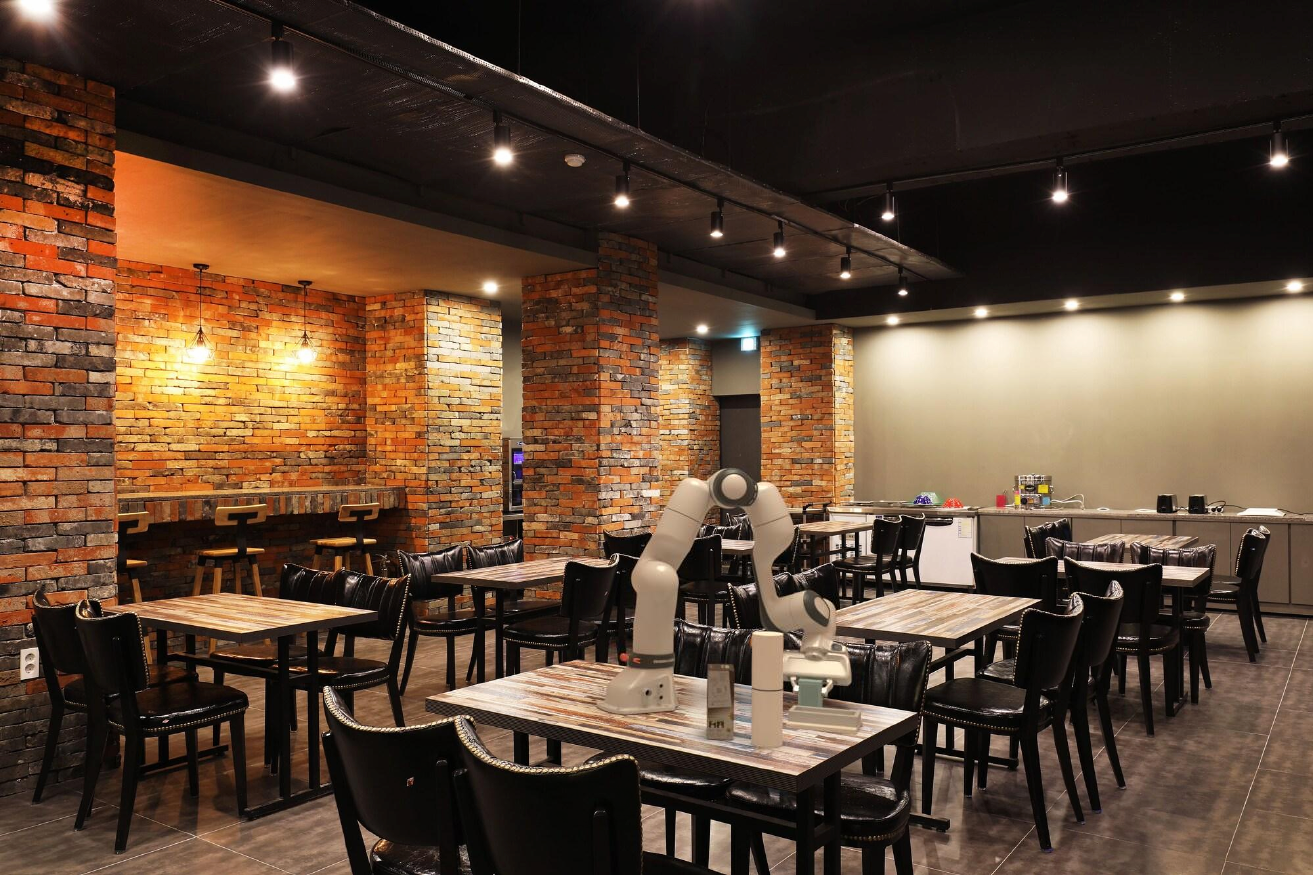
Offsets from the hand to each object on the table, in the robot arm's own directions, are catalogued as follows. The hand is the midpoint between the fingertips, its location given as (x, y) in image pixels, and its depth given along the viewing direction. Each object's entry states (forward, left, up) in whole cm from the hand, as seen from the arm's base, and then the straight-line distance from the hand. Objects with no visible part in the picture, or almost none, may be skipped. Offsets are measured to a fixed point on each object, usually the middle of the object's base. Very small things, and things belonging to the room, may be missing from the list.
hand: (809, 694), depth 250 cm
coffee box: (-35, -6, -5) cm, 36 cm away
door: (+1, 0, -5) cm, 5 cm away
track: (-6, -12, -5) cm, 14 cm away
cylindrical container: (-31, -18, -5) cm, 36 cm away
